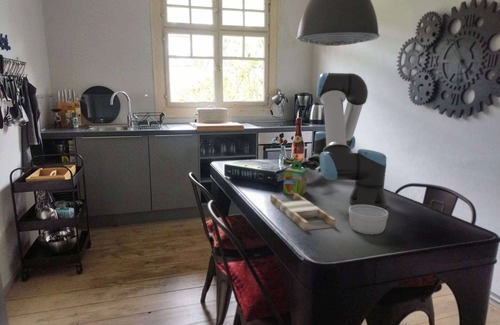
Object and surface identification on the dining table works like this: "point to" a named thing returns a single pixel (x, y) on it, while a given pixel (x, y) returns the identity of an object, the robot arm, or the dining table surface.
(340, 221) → the dining table surface
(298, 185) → the chalk box
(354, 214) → the ramekin
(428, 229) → the dining table surface
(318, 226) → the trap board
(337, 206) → the dining table surface
